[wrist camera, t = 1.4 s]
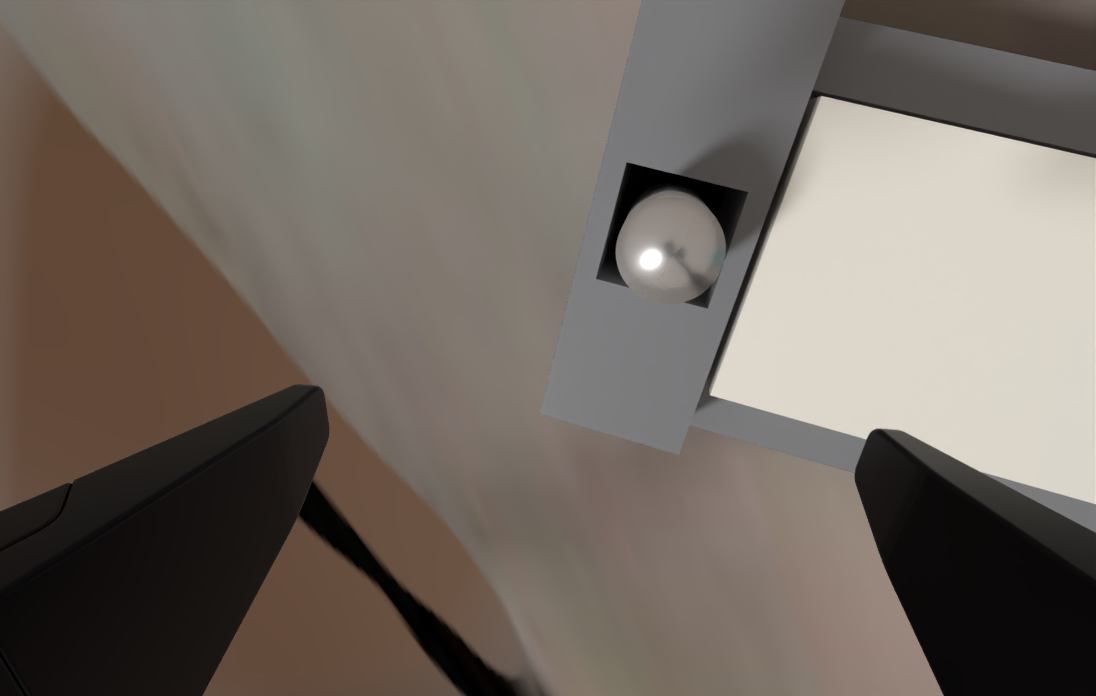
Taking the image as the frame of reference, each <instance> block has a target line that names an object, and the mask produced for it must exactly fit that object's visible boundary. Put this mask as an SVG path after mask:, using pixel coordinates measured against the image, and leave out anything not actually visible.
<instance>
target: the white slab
mask: <svg viewBox="0 0 1096 696" xmlns="http://www.w3.org/2000/svg"><path fill="white" fill-rule="evenodd" d="M707 382H708V387H709V392H710V395H711V396H715V397H718V398H722V399H725V400H729V401H732V402H736V403H739V404H743V405H746V406H750V407H753V408H757V409H761V410H764V411H768V412H771V413H775V414H778V415H782V416H785V417H789V418H792V419H796V420H799V421H803V422H806V423H810V424H814V425H817V426H821V427H824V428H828V429H831V430H835V431H838V432H842V433H845V434H849V435H852V436H856V437H860V438H863V439H867V437H868V435H869V433H870V432H871V431H872V430H874V429H877V428H881V429H895V430H901V431H904V432H906V433H908V434H910V435H911V436H913V437H915V438H917V439H919V440H921V441H923V442H925V443H927V444H929V445H931V446H932V447H934V448H936V449H938V450H940V451H942V452H944V453H946V454H948V455H950V456H951V457H953V458H955V459H957V460H959V461H961V462H963V463H965V464H967V465H969V466H970V467H972V468H974V469H976V470H978V471H980V472H983V473H987V474H990V475H994V476H998V477H1001V478H1005V479H1008V480H1012V481H1015V482H1019V483H1022V484H1026V485H1029V486H1033V487H1036V488H1040V489H1044V490H1047V491H1051V492H1054V493H1058V494H1061V495H1065V496H1068V497H1072V498H1075V499H1079V500H1082V501H1086V502H1090V503H1093V504H1096V158H1092V157H1087V156H1083V155H1078V154H1074V153H1070V152H1065V151H1061V150H1056V149H1052V148H1048V147H1043V146H1039V145H1034V144H1030V143H1026V142H1021V141H1017V140H1012V139H1008V138H1004V137H999V136H995V135H991V134H986V133H982V132H977V131H973V130H969V129H964V128H960V127H955V126H951V125H947V124H942V123H938V122H933V121H929V120H925V119H920V118H916V117H911V116H907V115H903V114H898V113H894V112H890V111H885V110H881V109H876V108H872V107H868V106H863V105H859V104H854V103H850V102H846V101H841V100H837V99H832V98H828V97H824V96H820V97H817V98H814V99H810V100H809V101H808V104H807V106H806V109H805V112H804V115H803V117H802V120H801V123H800V126H799V128H798V131H797V134H796V137H795V139H794V142H793V145H792V147H791V150H790V153H789V156H788V158H787V161H786V164H785V167H784V169H783V172H782V175H781V178H780V180H779V183H778V186H777V188H776V191H775V194H774V197H773V199H772V202H771V205H770V208H769V210H768V213H767V216H766V218H765V221H764V224H763V227H762V229H761V232H760V235H759V238H758V240H757V243H756V246H755V249H754V251H753V254H752V257H751V259H750V262H749V265H748V268H747V270H746V273H745V276H744V279H743V281H742V284H741V287H740V290H739V292H738V295H737V298H736V300H735V303H734V306H733V309H732V311H731V314H730V317H729V320H728V322H727V325H726V328H725V331H724V333H723V336H722V339H721V341H720V344H719V347H718V350H717V352H716V355H715V358H714V361H713V363H712V366H711V369H710V372H709V374H708V377H707Z"/></svg>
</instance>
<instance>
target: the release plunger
mask: <svg viewBox="0 0 1096 696" xmlns="http://www.w3.org/2000/svg"><path fill="white" fill-rule="evenodd" d="M725 253H726V244H725V237H724V234H723V230H722V228H721V226H720V224H719V222H718V221H717V219H716V218H715V216H714V215H713V214H712V212H711V211H710V210H709V208H708V207H707V206H706V204H705V203H704V202H703V200H702V199H701V198H700V197H699V195H698V194H696V193H695V192H694V191H693V190H691V189H690V188H688V187H686V186H683V185H680V184H675V183H664V184H659V185H656V186H653V187H651V188H649V189H648V190H646V191H645V192H643V193H642V194H641V195H640V196H639V197H638V198H637V199H636V201H635V202H634V204H633V205H632V207H631V209H630V211H629V213H628V216H627V218H626V220H625V222H624V224H623V226H622V228H621V231H620V233H619V236H618V239H617V244H616V261H617V266H618V269H619V272H620V274H621V276H622V278H623V280H624V281H625V283H626V284H627V285H628V286H629V288H630V289H631V290H632V291H634V292H635V293H636V294H637V295H639V296H640V297H642V298H644V299H646V300H649V301H651V302H655V303H660V304H678V303H683V302H686V301H689V300H691V299H694V298H696V297H697V296H699V295H701V294H702V293H703V292H705V291H706V290H707V289H708V288H709V287H710V286H711V285H712V284H713V283H714V281H715V280H716V279H717V277H718V275H719V274H720V271H721V269H722V267H723V264H724V260H725Z"/></svg>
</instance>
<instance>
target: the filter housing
mask: <svg viewBox="0 0 1096 696" xmlns="http://www.w3.org/2000/svg"><path fill="white" fill-rule="evenodd" d="M844 3H845V0H642V3H641V7H640V11H639V15H638V19H637V23H636V27H635V31H634V35H633V39H632V43H631V47H630V51H629V55H628V59H627V63H626V68H625V72H624V76H623V80H622V84H621V88H620V92H619V96H618V100H617V104H616V108H615V112H614V116H613V120H612V124H611V128H610V132H609V136H608V140H607V144H606V148H605V152H604V156H603V160H602V164H601V168H600V172H599V176H598V180H597V184H596V188H595V192H594V197H593V201H592V205H591V209H590V213H589V217H588V221H587V225H586V229H585V233H584V237H583V241H582V245H581V249H580V253H579V257H578V261H577V265H576V269H575V273H574V277H573V281H572V285H571V289H570V293H569V297H568V301H567V305H566V309H565V313H564V317H563V321H562V326H561V330H560V334H559V338H558V342H557V346H556V350H555V354H554V358H553V362H552V366H551V370H550V374H549V378H548V382H547V386H546V390H545V394H544V398H543V402H542V406H541V410H540V414H541V415H545V416H548V417H552V418H555V419H558V420H562V421H565V422H569V423H572V424H575V425H579V426H582V427H586V428H589V429H592V430H596V431H599V432H603V433H606V434H609V435H613V436H616V437H620V438H623V439H626V440H630V441H633V442H636V443H640V444H643V445H647V446H650V447H653V448H657V449H660V450H664V451H667V452H670V453H674V454H677V455H679V454H680V451H681V448H682V445H683V443H684V440H685V437H686V434H687V432H688V429H689V426H693V427H696V428H700V429H703V430H707V431H710V432H714V433H717V434H721V435H724V436H728V437H731V438H735V439H738V440H741V441H745V442H748V443H752V444H755V445H759V446H762V447H766V448H769V449H773V450H776V451H780V452H783V453H787V454H790V455H793V456H797V457H800V458H804V459H807V460H811V461H814V462H818V463H821V464H825V465H828V466H832V467H835V468H838V469H842V470H845V471H849V472H852V473H855V468H856V465H857V463H858V460H859V457H860V455H861V452H862V450H863V447H864V445H865V442H866V439H863V438H860V437H856V436H852V435H849V434H845V433H842V432H838V431H835V430H831V429H828V428H824V427H821V426H817V425H814V424H810V423H806V422H803V421H799V420H796V419H792V418H789V417H785V416H782V415H778V414H775V413H771V412H768V411H764V410H761V409H757V408H753V407H750V406H746V405H743V404H739V403H736V402H732V401H729V400H725V399H722V398H718V397H715V396H711V395H710V392H709V387H708V382H707V377H708V374H709V372H710V369H711V366H712V363H713V361H714V358H715V355H716V352H717V350H718V347H719V344H720V341H721V339H722V336H723V333H724V331H725V328H726V325H727V322H728V320H729V317H730V314H731V311H732V309H733V306H734V303H735V300H736V298H737V295H738V292H739V290H740V287H741V284H742V281H743V279H744V276H745V273H746V270H747V268H748V265H749V262H750V259H751V257H752V254H753V251H754V249H755V246H756V243H757V240H758V238H759V235H760V232H761V229H762V227H763V224H764V221H765V218H766V216H767V213H768V210H769V208H770V205H771V202H772V199H773V197H774V194H775V191H776V188H777V186H778V183H779V180H780V178H781V175H782V172H783V169H784V167H785V164H786V161H787V158H788V156H789V153H790V150H791V147H792V145H793V142H794V139H795V137H796V134H797V131H798V128H799V126H800V123H801V120H802V117H803V115H804V112H805V109H806V106H807V104H808V101H809V100H810V99H814V98H817V97H820V96H824V97H828V98H832V99H837V100H841V101H846V102H850V103H854V104H859V105H863V106H868V107H872V108H876V109H881V110H885V111H890V112H894V113H898V114H903V115H907V116H911V117H916V118H920V119H925V120H929V121H933V122H938V123H942V124H947V125H951V126H955V127H960V128H964V129H969V130H973V131H977V132H982V133H986V134H991V135H995V136H999V137H1004V138H1008V139H1012V140H1017V141H1021V142H1026V143H1030V144H1034V145H1039V146H1043V147H1048V148H1052V149H1056V150H1061V151H1065V152H1070V153H1074V154H1078V155H1083V156H1087V157H1092V158H1096V71H1093V70H1089V69H1084V68H1079V67H1075V66H1070V65H1065V64H1061V63H1056V62H1051V61H1046V60H1042V59H1037V58H1032V57H1028V56H1023V55H1018V54H1014V53H1009V52H1004V51H1000V50H995V49H990V48H986V47H981V46H976V45H972V44H967V43H962V42H958V41H953V40H948V39H944V38H939V37H934V36H930V35H925V34H920V33H916V32H911V31H906V30H901V29H897V28H892V27H887V26H883V25H878V24H873V23H869V22H864V21H859V20H855V19H850V18H845V17H841V16H840V14H841V11H842V8H843V5H844ZM632 164H636V165H640V166H644V167H648V168H653V169H657V170H661V171H665V172H669V173H673V174H677V175H681V176H685V177H689V178H693V179H697V180H701V181H705V182H709V183H713V184H717V185H721V186H726V187H727V189H726V192H725V195H724V198H723V201H722V204H721V207H720V210H719V213H718V216H717V221H718V222H719V224H720V226H721V228H722V230H723V234H724V237H725V244H726V253H725V260H724V264H723V267H722V269H721V271H720V274H719V275H718V277H717V279H716V280H715V281H714V283H713V284H712V285H711V286H710V287H709V288H708V289H707V290H706V291H705V292H703V293H702V294H701V295H699V296H697V297H696V298H694V299H691V300H689V301H686V302H683V303H678V304H660V303H655V302H651V301H649V300H646V299H644V298H642V297H640V296H639V295H637V294H636V293H635V292H634V291H632V290H631V289H630V288H629V286H628V285H627V284H626V283H625V281H624V280H623V278H622V276H621V274H620V272H619V269H618V266H617V261H616V253H614V252H610V251H609V250H610V246H611V242H612V239H613V235H614V231H615V228H616V224H617V220H618V216H619V213H620V209H621V205H622V201H623V198H624V194H625V190H626V186H627V183H628V179H629V175H630V172H631V168H632ZM982 473H983V472H982ZM984 474H986V475H988V476H989V477H991V478H993V479H995V480H997V481H999V482H1001V483H1003V484H1005V485H1007V486H1008V487H1010V488H1012V489H1014V490H1016V491H1018V492H1020V493H1022V494H1024V495H1026V496H1027V497H1029V498H1031V499H1033V500H1035V501H1037V502H1039V503H1041V504H1043V505H1045V506H1046V507H1048V508H1050V509H1052V510H1054V511H1056V512H1058V513H1060V514H1062V515H1064V516H1065V517H1067V518H1069V519H1071V520H1073V521H1075V522H1077V523H1079V524H1081V525H1083V526H1084V527H1086V528H1088V529H1090V530H1092V531H1094V532H1096V504H1093V503H1090V502H1086V501H1082V500H1079V499H1075V498H1072V497H1068V496H1065V495H1061V494H1058V493H1054V492H1051V491H1047V490H1044V489H1040V488H1036V487H1033V486H1029V485H1026V484H1022V483H1019V482H1015V481H1012V480H1008V479H1005V478H1001V477H998V476H994V475H990V474H987V473H984Z"/></svg>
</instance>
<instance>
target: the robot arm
mask: <svg viewBox="0 0 1096 696" xmlns="http://www.w3.org/2000/svg"><path fill="white" fill-rule="evenodd" d="M328 437H329V422H328V415H327V408H326V401H325V395H324V392H323V390H322V388H320V387H319V386H314V385H301V384H297V385H293V386H290V387H288V388H286V389H284V390H281V391H279V392H277V393H274V394H272V395H270V396H267V397H265V398H263V399H260V400H258V401H256V402H253V403H251V404H249V405H246V406H244V407H242V408H240V409H237V410H235V411H233V412H231V413H228V414H226V415H223V416H221V417H219V418H216V419H214V420H212V421H209V422H207V423H205V424H203V425H200V426H198V427H196V428H193V429H191V430H189V431H186V432H184V433H182V434H179V435H177V436H175V437H173V438H170V439H168V440H166V441H163V442H161V443H159V444H156V445H154V446H152V447H149V448H147V449H145V450H142V451H140V452H138V453H135V454H133V455H131V456H129V457H126V458H124V459H122V460H119V461H117V462H115V463H112V464H110V465H108V466H105V467H103V468H101V469H98V470H96V471H94V472H92V473H89V474H87V475H85V476H83V477H80V478H78V479H75V480H74V481H73V483H72V484H71V483H66V484H64V485H61V486H59V487H57V488H54V489H52V490H50V491H47V492H45V493H43V494H40V495H38V496H36V497H33V498H31V499H29V500H26V501H24V502H21V503H19V504H17V505H14V506H12V507H9V508H7V509H5V510H2V511H0V696H202V695H203V694H204V692H205V690H206V688H207V686H208V684H209V682H210V680H211V678H212V677H213V675H214V673H215V671H216V669H217V667H218V666H219V664H220V662H221V660H222V658H223V656H224V654H225V652H226V651H227V649H228V647H229V645H230V643H231V641H232V639H233V638H234V636H235V634H236V632H237V630H238V628H239V626H240V624H241V623H242V621H243V619H244V617H245V615H246V613H247V611H248V610H249V608H250V605H251V604H252V602H253V600H254V598H255V596H256V595H257V593H258V591H259V589H260V587H261V585H262V583H263V582H264V580H265V578H266V576H267V574H268V572H269V570H270V568H271V567H272V565H273V563H274V561H275V559H276V557H277V555H278V554H279V552H280V550H281V548H282V546H283V544H284V542H285V540H286V539H287V536H288V535H289V533H290V531H291V529H292V527H293V525H294V523H295V521H296V519H297V517H298V515H299V512H300V510H301V508H302V505H303V503H304V500H305V498H306V495H307V492H308V490H309V487H310V485H311V482H312V480H313V477H314V475H315V472H316V470H317V467H318V465H319V462H320V460H321V457H322V454H323V452H324V449H325V447H326V444H327V441H328ZM855 483H856V486H857V489H858V492H859V495H860V498H861V501H862V504H863V507H864V510H865V513H866V516H867V519H868V522H869V525H870V527H871V530H872V533H873V536H874V539H875V542H876V545H877V548H878V551H879V554H880V556H881V559H882V562H883V564H884V567H885V569H886V572H887V574H888V576H889V579H890V581H891V583H892V585H893V587H894V590H895V592H896V594H897V596H898V598H899V600H900V602H901V605H902V607H903V609H904V611H905V613H906V615H907V618H908V620H909V622H910V624H911V626H912V628H913V630H914V633H915V635H916V637H917V639H918V641H919V643H920V646H921V648H922V650H923V652H924V654H925V656H926V658H927V661H928V663H929V665H930V667H931V669H932V671H933V674H934V676H935V678H936V680H937V682H938V684H939V686H940V689H941V691H942V693H943V695H944V696H1096V532H1094V531H1092V530H1090V529H1088V528H1086V527H1084V526H1083V525H1081V524H1079V523H1077V522H1075V521H1073V520H1071V519H1069V518H1067V517H1065V516H1064V515H1062V514H1060V513H1058V512H1056V511H1054V510H1052V509H1050V508H1048V507H1046V506H1045V505H1043V504H1041V503H1039V502H1037V501H1035V500H1033V499H1031V498H1029V497H1027V496H1026V495H1024V494H1022V493H1020V492H1018V491H1016V490H1014V489H1012V488H1010V487H1008V486H1007V485H1005V484H1003V483H1001V482H999V481H997V480H995V479H993V478H991V477H989V476H988V475H986V474H984V473H982V472H980V471H978V470H976V469H974V468H972V467H970V466H969V465H967V464H965V463H963V462H961V461H959V460H957V459H955V458H953V457H951V456H950V455H948V454H946V453H944V452H942V451H940V450H938V449H936V448H934V447H932V446H931V445H929V444H927V443H925V442H923V441H921V440H919V439H917V438H915V437H913V436H911V435H910V434H908V433H906V432H904V431H901V430H895V429H881V428H877V429H874V430H872V431H871V432H870V433H869V435H868V437H867V439H866V442H865V445H864V447H863V450H862V452H861V455H860V457H859V460H858V463H857V465H856V468H855Z"/></svg>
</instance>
